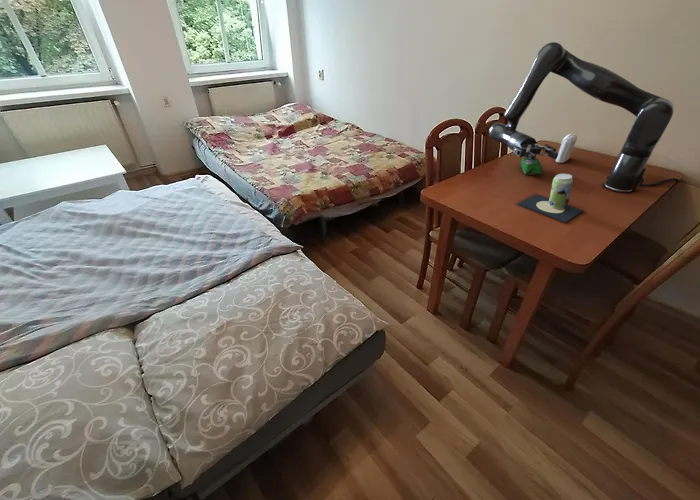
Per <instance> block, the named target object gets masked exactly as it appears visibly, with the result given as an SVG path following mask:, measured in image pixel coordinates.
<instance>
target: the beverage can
mask: <svg viewBox="0 0 700 500" xmlns="http://www.w3.org/2000/svg"><path fill="white" fill-rule="evenodd" d="M573 184H574V178H573V175H572V174H570V173H558V174H556V175H555V176H554V177H553V179H552V184H551V187H550V188H551V189H550V194H549V205H550V206H551V207H553V208H557V209H560V208H564V207H566V206H569V202H570V198H571V194H572V188H573Z"/></svg>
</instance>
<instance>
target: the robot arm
mask: <svg viewBox="0 0 700 500" xmlns="http://www.w3.org/2000/svg"><path fill="white" fill-rule="evenodd" d="M550 73H552V74H555V75H557V76H560V77H562V78H564V79H566V80H567V81H569V83H571V84H572V85H573V86H575V87H576V88H577V89H578V90H580V91H581V92H583V93H585V94H587V95H588V96H589V97H592V98H594V99H596V100H598V101H600V102H603V103H606V104H609V105H612V106H616V107H619V108H622V109H623V110H625V111H627V112H629V113H630V114H632V115H633V116H635V117H636V118H635V120H634V121H633V124H632V126H631V128H630V131H629V133H628V135H627V137H626V138H625V140H624V143H623V145H622V148H621V150H620V151H619V154H618V155H617V158H616V160H615V162H614V164H613V166H612V168H611V170H610V172H609V174H608V176H607V177H606V179H605V180H606V181H605V182H604V184H603V186H604V187H605V188H606V189H608V190H610V191H613V192H617V193H623V194H625V193H631V192H635V191H636V189H637V188H638V186H640V187H651V186H658V185H660V184H662V183H664V182H669V181H676V182H677V183H679V182H680V180H679V179H678V178H675V177H673V178H667V179H663V180H660V181H658V182H653V183H648V184H643V183H645V182H644V181H645V180H644V174H645V172H646V170H647V168H646V165H647V163H648V161H649V160H650V157H652V156H651V155H652V154H653V152H654V150H655V149H656V146H657V145H658V143H659V142H660V140H661V139H662V137H663V134H664V133H665V131H666V130H667V127H668V125H669V123H670V122H671V120H672V117H673V116H674V110H675V107H674V104H673V102H672V101H671V100H669V99H667V98H665V97H662V96H659V95H657V94H653V93H651V92H648V91H646V90H645V89H641V88H640V87H638V86H637V85H635V84H633V83H632V82H631V81H630V80H627V79H626V78H625V77H623V76H621V75H620V74H618V73H616V72H614V71H612V70H610V69H608V68H607V67H604V66H601V65H599V64H596V63H593V62H590V61H587V60H584V59H582V58H579V57H578V56H576V55H575V54H572V52H570V51H568V50H567V49H566V48H565V47H564V46H563V45H562V44H561V43H559V42H556V41H552V42H549V43H546V44H545V45H543V46H542V47H541V48H540V49H539V51H538V53H537V55H536V57H535V59H534V62H533V64H532V66H531V68H530V70H529V72H528V73H527V76H526V78H525V80H524V81H523V83H522V85H520V88H519V89H518V91H517V92H516V94H515V96H514V97H513V99H512V100H511V102H510V103H509V105H508V107H507V108H506V110H505V111H504V113H503V117H504V118H505V119H506V120H508V122H507V124H504V123H502V122H495V123H493V124H492V125H491V126H490V127H489V129H488V136H489V137H490V139H492V140H494V141H496V142H499V143H501V144H503V145H504V146H505V147H507V148H508V149H510V150H511V151H512V154H514V155H515V156H516V157H518V158H521V159H522V158H524V157H525V158H529V159H531V160H532V161H533V160H535V158H537V156H541V157H544V156H546V157H548V158H551V159H553V160H556V159H557V156H558V152H556V151H557V147H554V146H552V145H550V144H548V143H547V144H546V143H545V144H544V145H541V144H539V143H538V142H537V140H536V138H534V137H532V136H531V135H528V134H527V133H524V132H521V131H518V130H517V128H518V125H519V123H520V120H521V118H522V117H523V115H524V114H525V112H526V111H527V109H528V108H529V106H530V104H531V103H532V101H533V99H534V98H535V95H536V93H537V91H538V90H539V88H540V86H541V84H543V82H544V80H545V79H546V78H547V77H548V75H549V74H550Z"/></svg>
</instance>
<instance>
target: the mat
mask: <svg viewBox="0 0 700 500" xmlns="http://www.w3.org/2000/svg"><path fill="white" fill-rule="evenodd" d="M549 199H550V197H546V196H543V195H540V194H537V193H536V194H534V195H533V196H530V197H529V198H527V199H524V200H523V201H521V202H519V203H518V206H521V207H523V208H525V209H528V210H530V211H533V212H536V213H538V214H541V215H544V216H546V217H549V218H552V219H554V220H557V221H559V222H561V223H564V224H566V223H568V222H569V221H571V220H572V219H574V218H575V217H577V216H579V214H580V215H581V213H583V212H584V210H582V209H580V208H577V207H575V206H571V205H568V206H566V207H564V208H560V209H557V208H553V207H551V206H550V205H549Z"/></svg>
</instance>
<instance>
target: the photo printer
mask: <svg viewBox="0 0 700 500" xmlns="http://www.w3.org/2000/svg"><path fill="white" fill-rule="evenodd" d="M577 140H578V135H577V134H575V133H569V134H566V136H565V137H564V138H562V141H561V143H560V147H559V149H558V151H557V153H558V156H557V159H554V160H555V162H556V163H559V164H562V163H565V162H567V161H569V159H570V158H571V156H572V153H573V150H574V147H575V145H576V142H577Z"/></svg>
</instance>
